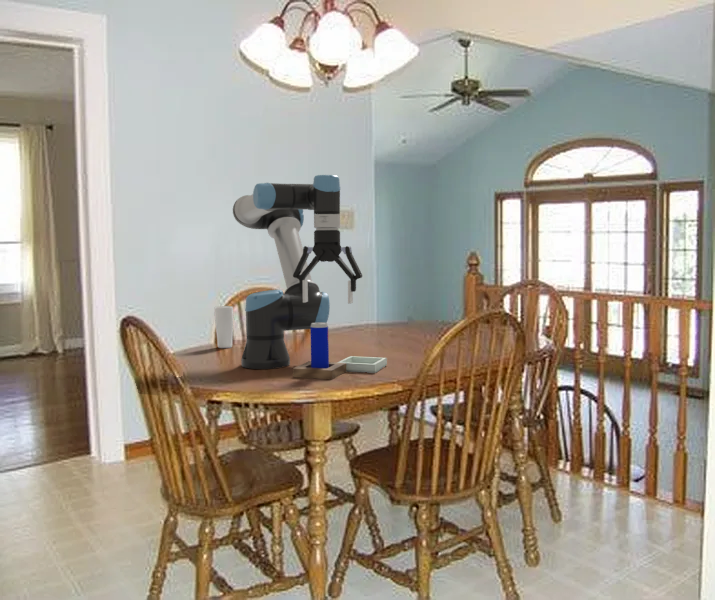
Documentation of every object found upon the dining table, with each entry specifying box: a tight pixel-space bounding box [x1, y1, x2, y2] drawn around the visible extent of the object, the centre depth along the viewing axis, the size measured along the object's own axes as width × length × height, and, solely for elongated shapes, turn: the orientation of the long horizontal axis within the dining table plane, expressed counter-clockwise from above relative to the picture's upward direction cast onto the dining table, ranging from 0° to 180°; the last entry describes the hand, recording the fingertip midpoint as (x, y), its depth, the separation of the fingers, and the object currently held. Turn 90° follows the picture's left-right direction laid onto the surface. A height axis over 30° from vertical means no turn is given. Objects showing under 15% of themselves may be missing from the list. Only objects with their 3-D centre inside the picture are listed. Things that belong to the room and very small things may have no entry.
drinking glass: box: [214, 305, 234, 349], centre depth 256 cm, size 7×7×15 cm
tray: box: [336, 355, 388, 374], centre depth 212 cm, size 12×12×2 cm
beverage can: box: [310, 322, 330, 368], centre depth 203 cm, size 5×5×15 cm
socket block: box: [292, 360, 347, 380], centre depth 203 cm, size 12×12×2 cm
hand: (327, 302), depth 203 cm, fingers open, 13 cm apart
